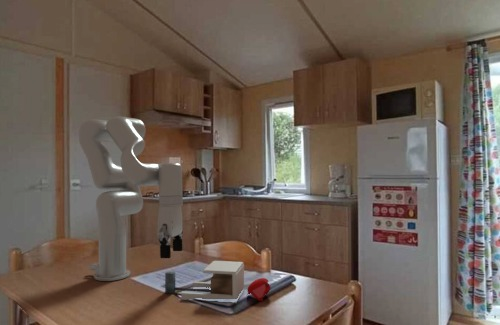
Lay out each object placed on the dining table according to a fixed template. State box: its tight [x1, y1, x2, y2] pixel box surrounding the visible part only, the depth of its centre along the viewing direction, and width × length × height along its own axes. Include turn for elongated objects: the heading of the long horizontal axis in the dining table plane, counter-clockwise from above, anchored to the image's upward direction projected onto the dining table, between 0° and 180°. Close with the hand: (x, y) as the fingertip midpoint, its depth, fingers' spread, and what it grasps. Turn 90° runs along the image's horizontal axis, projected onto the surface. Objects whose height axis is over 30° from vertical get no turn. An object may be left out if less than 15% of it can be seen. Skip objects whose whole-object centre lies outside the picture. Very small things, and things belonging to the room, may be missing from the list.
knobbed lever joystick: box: [164, 271, 233, 295], centre depth 112 cm, size 23×6×6 cm, turn 79°
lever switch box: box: [180, 260, 245, 301], centre depth 111 cm, size 17×11×9 cm, turn 79°
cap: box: [246, 277, 272, 302], centre depth 108 cm, size 8×6×6 cm
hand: (171, 254), depth 113 cm, fingers open, 9 cm apart
